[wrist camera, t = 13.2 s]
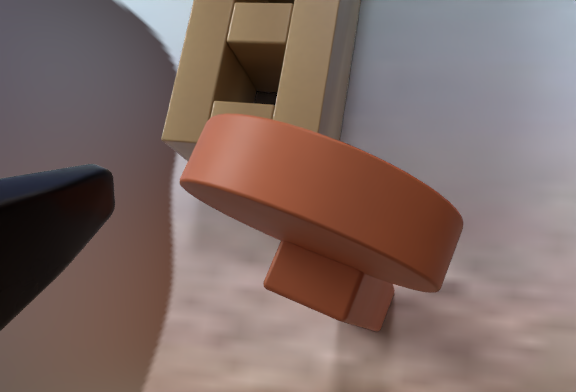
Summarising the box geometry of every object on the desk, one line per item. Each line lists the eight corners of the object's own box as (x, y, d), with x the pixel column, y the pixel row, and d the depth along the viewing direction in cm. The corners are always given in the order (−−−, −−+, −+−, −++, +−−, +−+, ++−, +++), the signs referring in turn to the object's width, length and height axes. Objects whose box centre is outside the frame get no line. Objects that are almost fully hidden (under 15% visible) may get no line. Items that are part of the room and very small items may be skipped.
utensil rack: (203, 174, 22) (160, 139, 18) (259, -91, 25) (232, -169, 21) (332, 188, 20) (315, 153, 17) (375, -95, 23) (368, -179, 20)
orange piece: (412, 346, 18) (417, 362, 5) (307, 301, 19) (93, 220, 6) (431, 295, 19) (482, 184, 5) (326, 253, 20) (160, 80, 7)
